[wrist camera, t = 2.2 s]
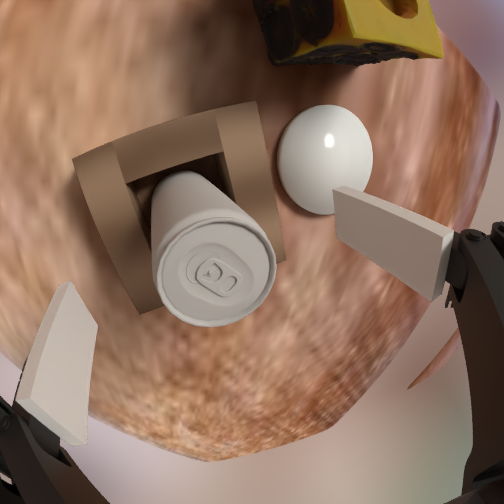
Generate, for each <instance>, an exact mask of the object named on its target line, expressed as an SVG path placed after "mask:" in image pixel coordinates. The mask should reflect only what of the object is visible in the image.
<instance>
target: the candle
mask: <svg viewBox="0 0 504 504" xmlns="http://www.w3.org/2000/svg"><path fill="white" fill-rule="evenodd" d="M253 2H254V7H255V11H256V13H257V15H258V17H259V23H260V25H261V30H262V32H263V34H264V37H265V40H266V43H267V46H268V57H269V59H270V60H271V62H272V64H273V65H277V66H280V65H282V64H288V65H289V64H292V65H295V64H310V65H312V64H322V63H325V64H328V63H334V64H338V65H340V64H349V65H351V64H353V65H356V66H360V65H364V64H370V63H372V64H375V63H380V62H381V61H383V60H384V61H387V60H390V59H399V58H403V57H404V58H410V59H413V60H415V59H421V58H436V59H439V58H443V57H444V55H443V49H442V44H441V41H440V37H439V33H438V30H437V27H436V23H435V20H434V17H433V13H432V10H431V7H430V5H429V2H428V0H253Z"/></svg>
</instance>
